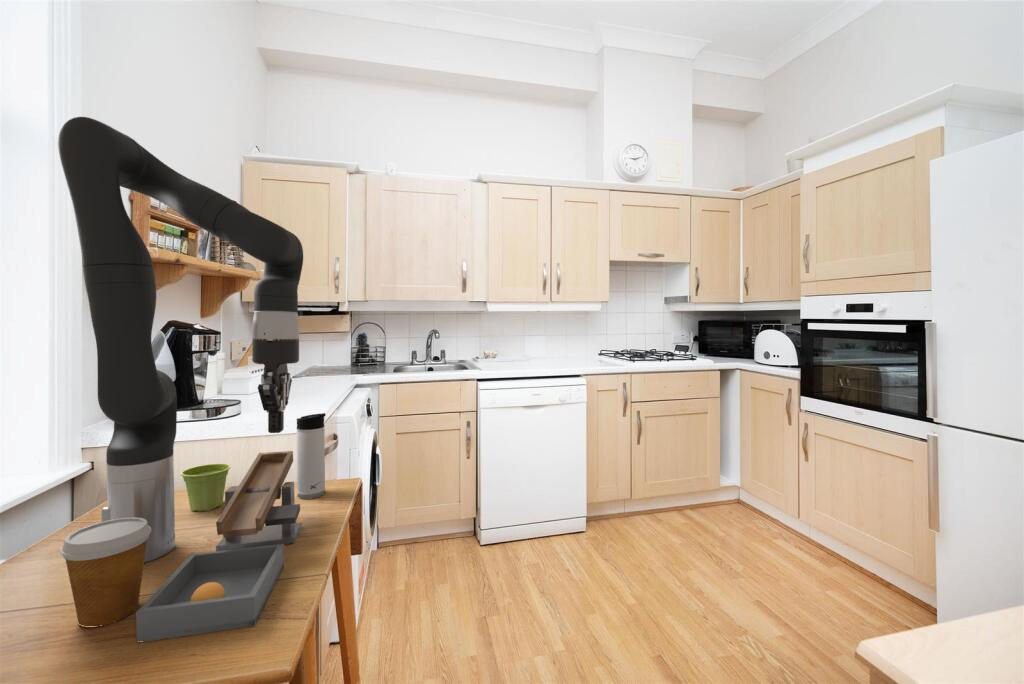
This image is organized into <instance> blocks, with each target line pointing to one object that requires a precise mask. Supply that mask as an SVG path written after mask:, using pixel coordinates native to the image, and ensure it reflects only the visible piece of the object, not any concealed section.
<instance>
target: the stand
mask: <svg viewBox="0 0 1024 684" xmlns="http://www.w3.org/2000/svg"><path fill="white" fill-rule="evenodd" d="M238 486H239V485H233V486H230V487H229V488H227V489H226V490H224V508H225V507H226V506H227V504H228V502H229V501H230V499H231V498H232V496H233V494H234V493H235V491H236V489H237V488H238ZM284 505H295V481H284V483H283V485H282V487H281V506H284ZM302 527H303V523H302V522H298V523H297V522H296V523H294V524H283V525H273V526H265V525H264V527H263V529H262V531H258V533H257V534H254V535H244V536H235V537H225V538H223V537H222V539H221V540H220V541H219V542H218V543H217V544H216V545H215V551H221V550H231V549H240V548H249V547H259V546H268V545H277V544H284V545H291V544H290V543H293V544H295V542H296V540H297V538H298V536H299V534H300V532H301V530H302Z"/></svg>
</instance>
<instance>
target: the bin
mask: <svg viewBox="0 0 1024 684" xmlns="http://www.w3.org/2000/svg"><path fill="white" fill-rule="evenodd" d="M284 546H285V544H277V545H268V546H259V547H249V548H240V549H231V550H221V551H216V550H213V551H205V552H204V551H203V552H197V553H191V554H190V555H189V556H188V557H187V558H186V559H185V560H184V561H183V562H182V563H181V564H180V566H178V567H177V569H176V570H175V571H174V572H173V573H172V574H171V575H170V576H169V577H168V578H167V579H166V580H165V582H163V583H162V584H161V585H160V586H159V587H158V589H157V590H156V591H155V592H154V593H153V594H152V595H151V596H150V597H149V598H148V599H147V600H146V601H145V602H144V604H142V606H140V608H139V609H138V610H136V614H135V615H136V621H135V622H136V643H137V642H138V641H139V642H140V641H148V642H155V641H161V640H160V639H162V640H166V639H165V638H168V639H174V638H181V636H182V637H188V636H195V635H201V634H202V635H203V634H208V633H215V632H221V631H228V630H235V629H242V628H243V629H244V628H248V627H255V626H256V625H257V622H258V620H259V618H260V616H261V614H262V613H263V611H264V608H265V606H266V605H267V602H268V600H269V598H270V596H271V594H272V592H273V590H274V587H275V586H276V583H277V582H278V580H279V578H280V575H281V574H282V572H283V570H284V568H285V555H284V553H285V551H284ZM209 582H216V583H219V584H220V585H222V587H223V588H224V590H225V597H224V598H217V599H209V600H201V601H194V602H190V600H191V597H192V595H193V593H194V592H195V591H196V589H197V588H199V587H200V586H201V585H203V584H206V583H209ZM154 640H155V641H154Z"/></svg>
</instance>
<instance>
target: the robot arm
mask: <svg viewBox="0 0 1024 684" xmlns="http://www.w3.org/2000/svg"><path fill="white" fill-rule="evenodd" d="M57 149H58V155H59V160H60V163H61V168H62V171H63V174H64V178H65V181H66V184H67V188H68V191H69V195H70V196H69V197H70V198H71V203H72V208H73V212H74V218H75V223H76V228H77V235H78V240H79V244H80V245H79V246H80V251H81V262H82V269H83V270H82V272H83V278H84V283H85V290H86V291H85V292H86V295H87V298H88V305H89V312H90V318H91V323H92V329H93V332H94V337H95V342H96V344H95V345H96V355H97V357H96V358H97V401H98V405H99V408H100V410H101V411H102V413H103V414H104V415H105V416H106V417H107V418H108V419H109V420H111V421H113V432H112V437H111V440H110V442H109V444H108V446H107V448H106V459H105V460H106V489H107V490H106V491H107V493H106V494H107V495H106V496H107V503H106V504H107V505H106V506H104V507H103V508H102V509H101V511H100V520H101V521H100V522H104V521H108V520H113V519H120V518H132V517H136V518H143V519H146V521H147V523H148V526H149V527H151V533H150V534H149V537H148V539H147V544H146V552H145V559H144V563H147V562H150V561H153V560H156V559H159V558H160V557H163V556H165V555H167V554H169V553H170V552H171V551H172V550H173V549H174V548H175V545H176V529H175V528H176V526H175V523H176V522H175V519H176V518H175V469H174V468H175V466H174V461H175V460H174V445H175V440H176V437H177V424H178V423H177V422H178V421H177V419H178V418H177V415H178V413H177V412H178V407H177V406H178V401H177V399H178V396H177V388H176V385H175V383H174V381H173V380H172V378H171V376H169V374H167V373H166V372H164V371H161V370H158V369H157V366H156V362H155V358H154V352H153V344H152V343H153V342H152V334H153V333H152V331H153V324H154V320H155V319H154V318H155V313H156V307H157V285H156V278H155V270H154V264H153V259H152V257H151V254H150V251H149V249H148V247H147V245H146V244H145V242H144V240H143V238H142V237H141V235H140V233H139V231H138V230H137V228H136V226H135V225H134V223H133V222H132V220H131V219H130V216H129V215H128V212H127V209H126V207H125V204H124V202H123V201H124V200H123V196H122V193H121V191H122V190H121V187H122V188H124V189H127V190H131V191H134V192H135V193H136V192H137V193H139V194H140V195H141V194H142V195H144V196H147V197H149V198H152V199H154V200H156V201H158V202H160V203H161V204H162V203H163V204H164V205H165V206H166V207H169V208H170V209H171V210H173V211H175V212H176V213H177V214H178V215H180V216H181V217H182V218H184V219H186V220H187V221H188V222H191V223H192V224H193V225H195V226H196V227H199V228H200V229H202V230H204V231H206V232H208V233H209V234H211V235H213V236H215V237H218V239H219V238H220V240H223V241H226V242H228V243H230V244H232V245H234V246H235V247H237V248H238V249H240V250H241V251H243V252H245V253H246V254H247V255H249V256H251V257H253V258H254V259H256V260H258V261H260V262H262V263H264V266H263V273H262V278H261V279H259V280H257V281H256V282H255V284H254V285H255V286H254V291H253V293H254V294H253V311H254V312H253V320H252V328H251V329H252V331H251V334H252V339H251V340H252V341H251V342H252V343H251V346H252V349H251V350H252V351H251V352H252V356H251V357H252V358H251V360H252V362H253V364H256V365H264V367H263V373H262V374H261V376H260V383H259V384H258V386H257V391H258V395H259V397H260V401H261V405H262V409H263V411H265V412H266V413H267V414H268V415H267V423H268V425H267V426H268V429H267V431H268V433H269V434H278V433H281V432H282V431H284V427H285V426H284V424H285V423H284V421H285V420H284V419H285V417H284V413H285V412H284V411H285V410H286V406H288V404H289V398H290V394H291V393H290V392H291V385H292V382H293V378H292V377H291V373H290V372H289V370H288V369H289V368H288V364H289V365H290V364H296V363H299V361H300V321H299V313H298V309H299V307H298V306H299V305H298V304H299V300H298V299H299V297H298V295H299V294H298V289H299V285H300V281H301V275H302V270H303V264H304V249H303V244H302V242H301V240H300V239H299V237H297V235H295V233H293V232H291V231H289V230H287V228H285V227H283V226H281V225H279V224H277V223H275V222H273V221H271V220H270V219H267V218H266V217H263V216H261V215H259V214H258V213H257V214H256V213H254V212H252V211H250V210H249V209H248V208H246V207H245V206H243V205H242V204H240V203H238V202H236V201H235V200H232V199H231V198H229V197H227V196H226V195H224V194H222V193H220V192H218V191H216V190H214V189H213V188H210V187H208V186H205V185H204V184H201V183H200V182H197V181H195V180H192V179H191V178H188V177H186V176H185V175H183V174H181V173H179V172H178V171H176V170H175V169H173V168H171V167H170V166H169V165H167V164H165V163H164V162H163V161H161V160H160V159H159V158H158V157H156V156H155V155H153V153H151V152H150V151H149V150H147V149H146V148H145V147H144V146H142V145H141V144H140V143H138V142H137V141H136V140H135V139H134V138H132V137H130V136H129V135H127V134H124V132H121V131H119V130H117V129H116V128H113V127H112V126H110V125H108V124H106V123H104V122H102V121H100V120H97V119H94V118H91V117H88V116H76V117H73V118H70V119H68V120H67V121H66V122H65V123H64V124H63V125H62V126H61V128H60V131H59V133H58V137H57Z"/></svg>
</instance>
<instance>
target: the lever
mask: <svg viewBox="0 0 1024 684" xmlns="http://www.w3.org/2000/svg"><path fill="white" fill-rule="evenodd" d="M293 462H294V452H293V450H287V451H286V450H285V451H284V450H283V451H271V452H269V451H268V452H259V453H258V454H257V456H256V458H254V461H253V462H252V464H251V466H249V469H248V470H247V472H246V474H245V475H244V477H243V479H242V480H241V482H240V483H239V485H237V486H238V488H237V489H236V491H235V493H234V494H233V496H232V498H231V499H230V501H229V502H228V504H227V506H226V507H225V506H224V509H223V510H222V511H221V512H222V513H221V514H220V515H219V517H218V518H217V520H216V521H215V524H216V531H217V532H216V533H217V536H220V535H222V539H223V538H225V537H235V536H244V535H254V534H257V533H258V531H262V529H263V527H264V526H274V525H283V524H294V523H297V520H298V518H299V515H300V511H301V504H300V503H297V504H295V503H294V505H284V506H282V505H275V502H276V500H280V499H281V498H282V486H283V485H284V483H285V480H286V478H287V476H288V473H289V472H290V469H291V467H292V465H293Z"/></svg>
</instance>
